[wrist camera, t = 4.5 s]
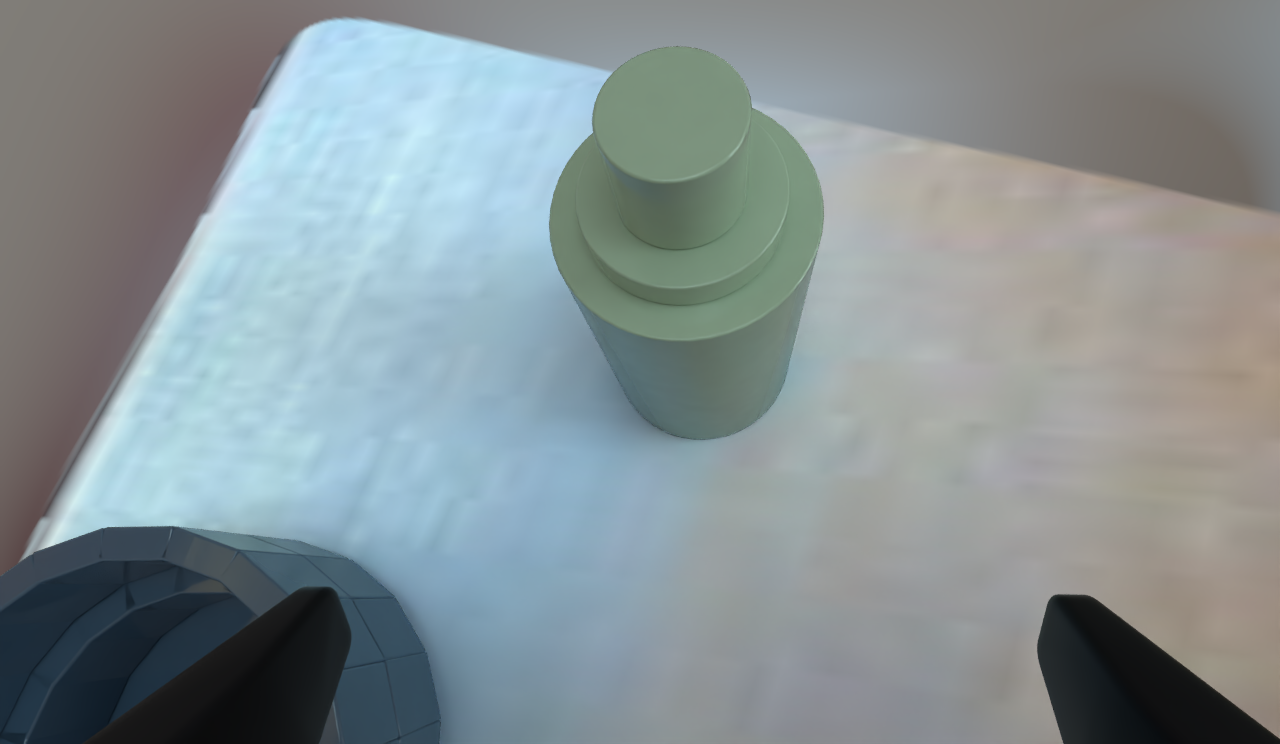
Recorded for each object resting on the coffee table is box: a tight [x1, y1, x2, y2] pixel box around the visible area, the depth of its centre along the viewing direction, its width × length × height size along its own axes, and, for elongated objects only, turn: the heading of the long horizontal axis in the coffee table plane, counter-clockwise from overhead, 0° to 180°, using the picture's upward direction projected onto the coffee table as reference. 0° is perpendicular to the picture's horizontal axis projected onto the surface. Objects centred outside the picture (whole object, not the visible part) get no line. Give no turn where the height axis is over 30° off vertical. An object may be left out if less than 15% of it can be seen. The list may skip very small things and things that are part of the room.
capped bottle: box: [549, 46, 824, 439], centre depth 17 cm, size 5×5×12 cm
